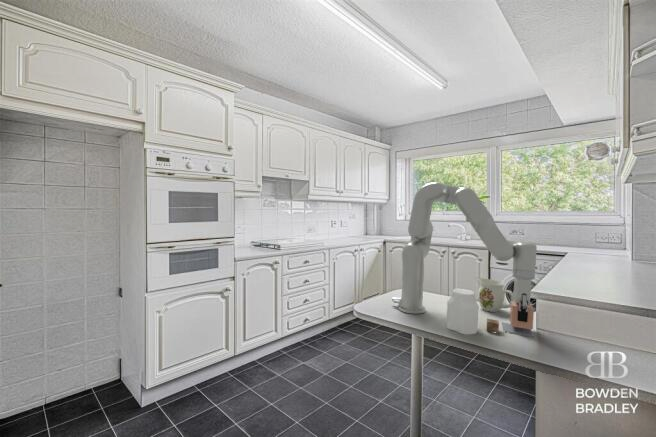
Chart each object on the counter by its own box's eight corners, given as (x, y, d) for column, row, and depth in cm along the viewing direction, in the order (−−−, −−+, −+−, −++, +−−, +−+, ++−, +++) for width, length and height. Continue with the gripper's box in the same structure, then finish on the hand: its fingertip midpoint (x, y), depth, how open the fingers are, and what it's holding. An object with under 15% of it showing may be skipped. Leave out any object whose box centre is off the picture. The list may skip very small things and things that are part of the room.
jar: (441, 326, 128) (443, 290, 127) (453, 321, 134) (455, 286, 133) (469, 336, 119) (472, 297, 118) (481, 330, 125) (483, 293, 124)
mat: (503, 331, 124) (503, 330, 124) (501, 323, 133) (501, 322, 133) (533, 337, 120) (533, 336, 120) (529, 327, 129) (529, 326, 129)
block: (486, 331, 124) (487, 321, 124) (486, 328, 128) (487, 318, 128) (498, 334, 123) (498, 323, 122) (497, 330, 126) (498, 320, 126)
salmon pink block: (511, 326, 125) (512, 305, 124) (509, 320, 131) (510, 301, 130) (532, 329, 122) (533, 308, 121) (529, 323, 128) (531, 303, 127)
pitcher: (508, 318, 139) (510, 287, 138) (467, 307, 152) (469, 279, 152) (517, 313, 146) (519, 284, 145) (478, 303, 160) (479, 276, 159)
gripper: (510, 268, 134) (508, 309, 135) (514, 277, 119) (512, 323, 120) (531, 270, 131) (528, 312, 132) (538, 279, 116) (535, 327, 117)
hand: (521, 317), depth 126 cm, fingers closed on salmon pink block, 7 cm apart
